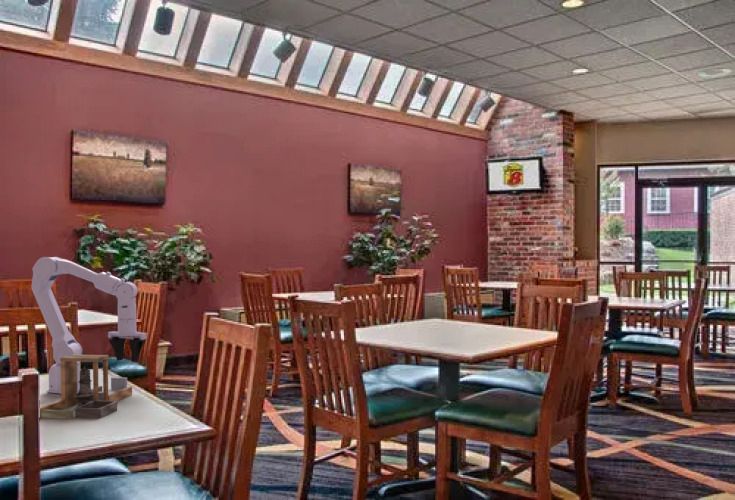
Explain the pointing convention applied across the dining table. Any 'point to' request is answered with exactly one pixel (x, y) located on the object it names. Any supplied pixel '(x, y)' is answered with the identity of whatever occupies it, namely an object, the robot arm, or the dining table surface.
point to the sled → (115, 386)
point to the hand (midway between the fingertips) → (127, 360)
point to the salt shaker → (84, 388)
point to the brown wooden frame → (70, 389)
